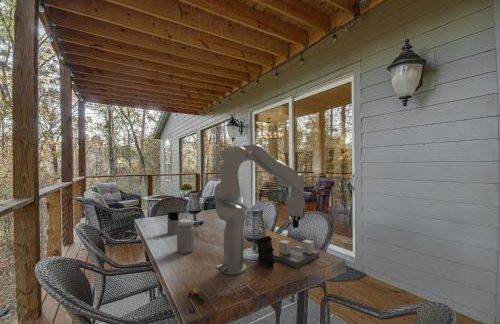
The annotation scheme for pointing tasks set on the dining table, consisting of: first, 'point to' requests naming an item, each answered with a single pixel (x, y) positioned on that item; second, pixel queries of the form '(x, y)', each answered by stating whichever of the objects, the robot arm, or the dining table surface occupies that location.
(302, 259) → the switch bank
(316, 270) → the dining table surface
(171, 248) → the dining table surface
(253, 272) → the dining table surface
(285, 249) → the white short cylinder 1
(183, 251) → the jar
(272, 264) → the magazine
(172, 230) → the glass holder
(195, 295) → the composite cable
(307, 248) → the beige cylinder
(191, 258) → the dining table surface
